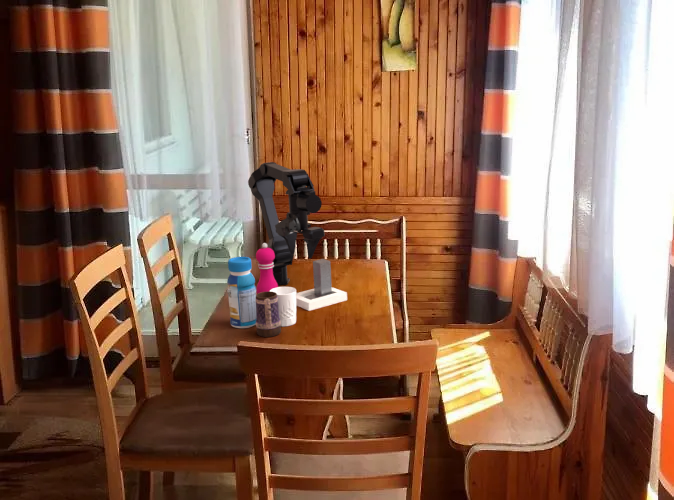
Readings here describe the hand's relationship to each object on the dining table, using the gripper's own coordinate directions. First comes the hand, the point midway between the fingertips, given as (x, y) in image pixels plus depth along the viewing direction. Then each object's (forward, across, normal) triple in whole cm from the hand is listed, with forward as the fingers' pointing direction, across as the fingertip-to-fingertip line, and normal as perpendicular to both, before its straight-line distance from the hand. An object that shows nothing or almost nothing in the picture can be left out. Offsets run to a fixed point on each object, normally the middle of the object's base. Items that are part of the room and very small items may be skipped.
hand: (301, 256), depth 244 cm
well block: (+13, +9, -1) cm, 16 cm away
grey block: (+13, +9, -1) cm, 16 cm away
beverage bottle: (+14, +9, -30) cm, 34 cm away
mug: (+14, +21, -30) cm, 40 cm away
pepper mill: (+13, -2, -14) cm, 19 cm away
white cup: (+14, +17, -21) cm, 30 cm away
